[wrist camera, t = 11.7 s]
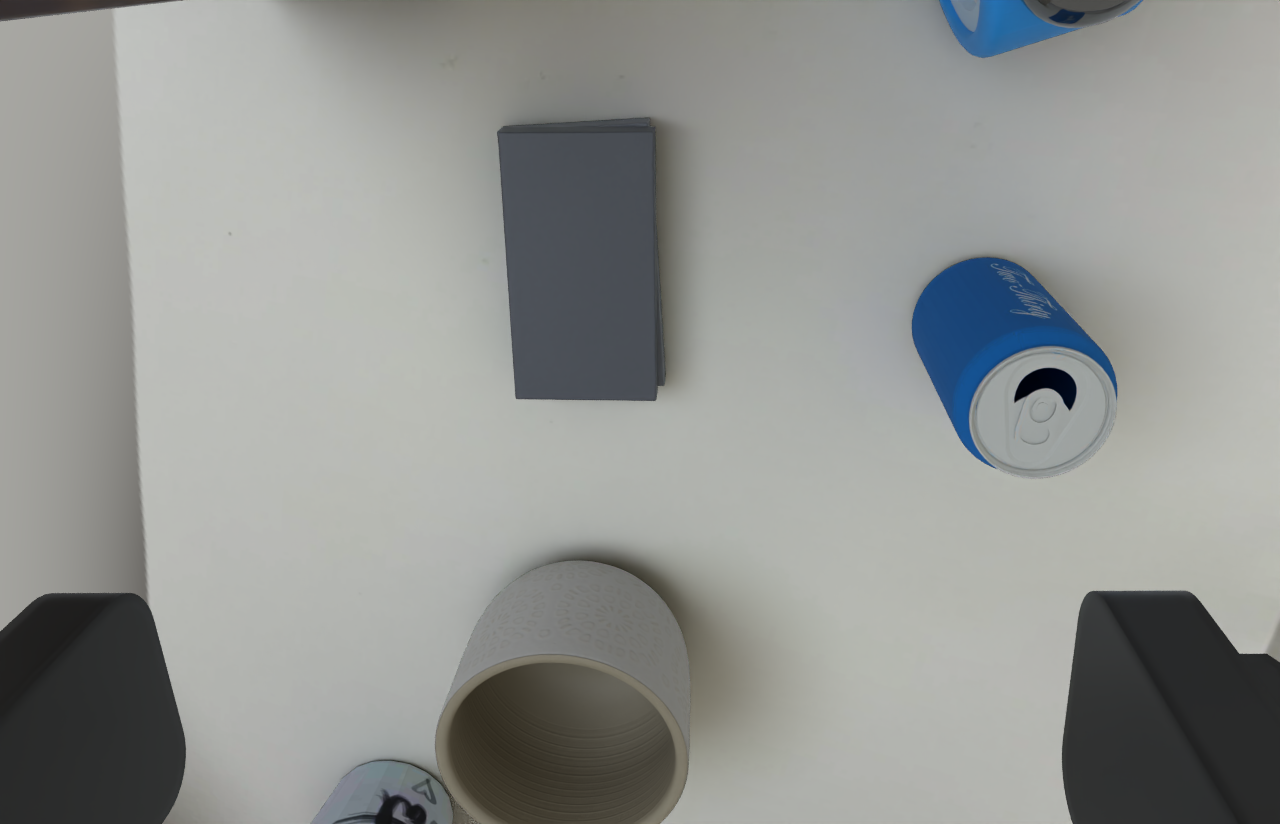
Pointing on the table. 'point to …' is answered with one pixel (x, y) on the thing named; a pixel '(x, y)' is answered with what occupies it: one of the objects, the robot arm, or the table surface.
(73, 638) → the robot arm
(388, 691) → the table surface
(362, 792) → the mug
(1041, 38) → the alarm clock
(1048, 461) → the beverage can
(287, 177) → the table surface
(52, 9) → the bookcase
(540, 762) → the planter
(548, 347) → the grey book pile
